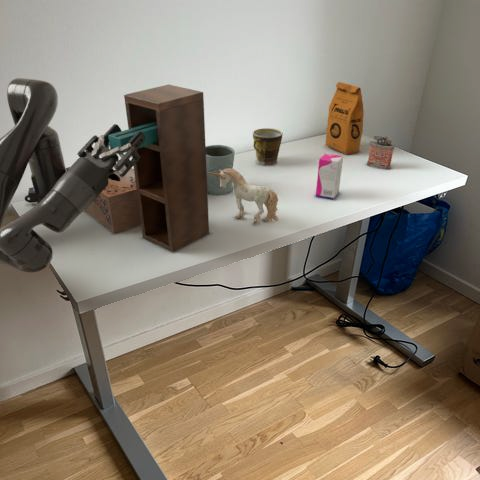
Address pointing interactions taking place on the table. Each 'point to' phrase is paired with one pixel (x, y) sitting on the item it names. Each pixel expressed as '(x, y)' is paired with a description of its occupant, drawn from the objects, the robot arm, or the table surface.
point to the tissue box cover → (117, 203)
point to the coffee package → (345, 119)
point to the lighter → (380, 152)
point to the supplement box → (329, 176)
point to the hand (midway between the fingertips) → (130, 131)
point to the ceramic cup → (267, 145)
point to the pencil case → (125, 136)
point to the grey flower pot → (218, 167)
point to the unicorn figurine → (249, 194)
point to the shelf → (171, 165)
